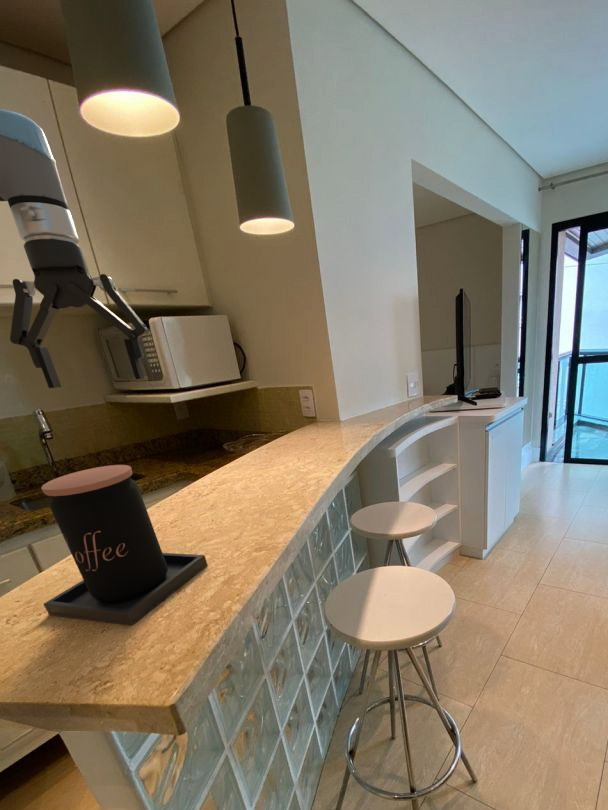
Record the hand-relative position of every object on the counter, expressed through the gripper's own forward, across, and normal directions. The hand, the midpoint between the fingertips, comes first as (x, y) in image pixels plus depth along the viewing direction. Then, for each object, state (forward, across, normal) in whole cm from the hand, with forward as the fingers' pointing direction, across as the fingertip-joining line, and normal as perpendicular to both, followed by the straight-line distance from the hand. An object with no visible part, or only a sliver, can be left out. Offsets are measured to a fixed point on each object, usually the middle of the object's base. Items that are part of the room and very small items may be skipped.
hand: (98, 383), depth 72 cm
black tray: (+30, +3, -22) cm, 37 cm away
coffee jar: (+30, +3, -22) cm, 37 cm away
